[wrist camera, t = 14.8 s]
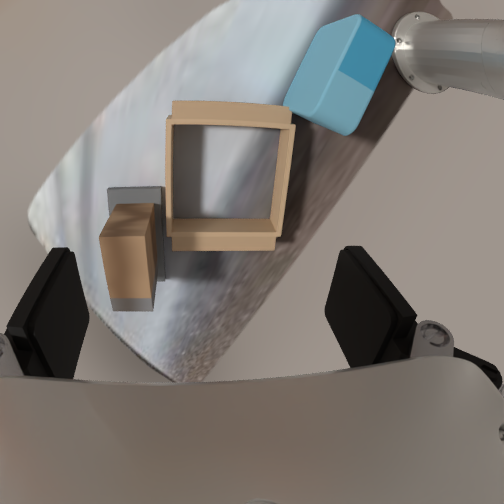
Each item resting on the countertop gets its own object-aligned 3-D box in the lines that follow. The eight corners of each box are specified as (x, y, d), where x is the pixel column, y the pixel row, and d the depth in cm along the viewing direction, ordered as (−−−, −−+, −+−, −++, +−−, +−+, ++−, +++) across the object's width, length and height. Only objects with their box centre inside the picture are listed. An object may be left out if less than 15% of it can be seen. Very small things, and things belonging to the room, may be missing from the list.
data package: (311, 122, 38) (352, 139, 28) (279, 107, 36) (311, 118, 26) (349, 44, 33) (400, 36, 23) (318, 27, 32) (363, 10, 21)
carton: (288, 104, 36) (297, 107, 33) (272, 235, 45) (278, 250, 42) (169, 98, 34) (166, 101, 30) (169, 236, 43) (167, 251, 39)
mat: (161, 186, 39) (160, 188, 38) (165, 278, 46) (165, 281, 45) (108, 187, 38) (107, 189, 37) (119, 278, 45) (118, 281, 44)
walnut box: (154, 202, 39) (144, 236, 32) (158, 269, 44) (153, 311, 37) (116, 203, 38) (98, 237, 31) (124, 269, 43) (113, 311, 36)
